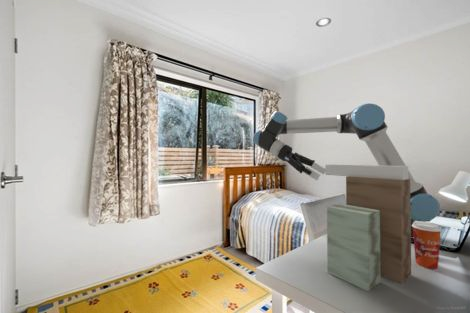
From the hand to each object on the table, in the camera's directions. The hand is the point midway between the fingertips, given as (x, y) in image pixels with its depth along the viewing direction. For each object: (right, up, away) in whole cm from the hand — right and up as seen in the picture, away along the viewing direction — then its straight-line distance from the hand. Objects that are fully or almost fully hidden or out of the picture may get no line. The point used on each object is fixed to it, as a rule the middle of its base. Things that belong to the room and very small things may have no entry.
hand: (322, 174), depth 94 cm
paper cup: (+27, -29, -21) cm, 45 cm away
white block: (+6, +1, -19) cm, 20 cm away
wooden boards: (+4, -29, -26) cm, 39 cm away
